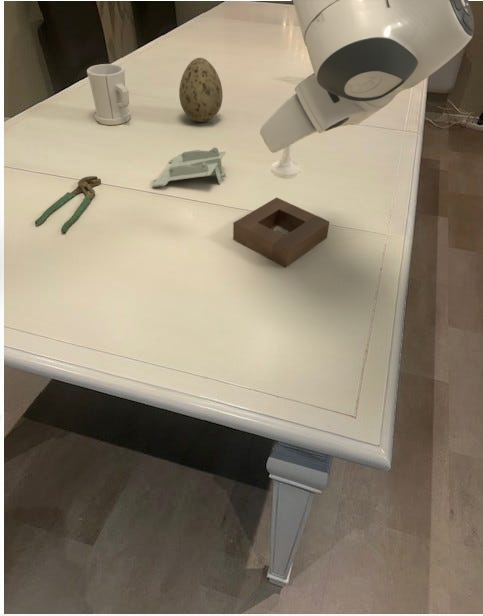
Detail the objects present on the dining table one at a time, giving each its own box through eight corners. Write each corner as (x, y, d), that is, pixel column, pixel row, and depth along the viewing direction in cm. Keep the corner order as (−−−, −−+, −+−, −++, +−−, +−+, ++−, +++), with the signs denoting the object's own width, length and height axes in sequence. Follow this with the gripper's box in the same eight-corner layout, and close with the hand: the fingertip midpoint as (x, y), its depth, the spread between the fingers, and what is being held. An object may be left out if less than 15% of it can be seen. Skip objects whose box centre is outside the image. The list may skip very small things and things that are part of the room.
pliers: (65, 235, 86) (63, 229, 85) (32, 229, 87) (30, 223, 86) (113, 183, 100) (112, 177, 99) (84, 178, 101) (83, 172, 100)
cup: (140, 113, 127) (135, 65, 119) (131, 127, 121) (124, 77, 112) (102, 111, 128) (93, 62, 120) (90, 125, 121) (81, 74, 113)
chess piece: (288, 182, 75) (294, 118, 68) (264, 171, 77) (267, 108, 71) (307, 171, 78) (314, 108, 71) (283, 161, 80) (288, 100, 73)
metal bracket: (230, 138, 103) (207, 170, 92) (236, 164, 106) (216, 197, 96) (171, 148, 108) (143, 178, 97) (179, 172, 112) (154, 204, 101)
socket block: (326, 238, 87) (329, 221, 84) (286, 267, 80) (287, 250, 78) (275, 213, 93) (276, 197, 90) (233, 239, 86) (233, 222, 84)
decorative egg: (204, 132, 119) (202, 67, 109) (172, 121, 124) (167, 58, 114) (231, 119, 126) (231, 57, 115) (199, 109, 130) (197, 48, 120)
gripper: (379, 49, 68) (314, 102, 79) (293, 84, 57) (231, 140, 68) (400, 89, 69) (332, 136, 80) (319, 132, 58) (254, 179, 69)
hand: (285, 138), depth 74 cm, fingers closed on chess piece
